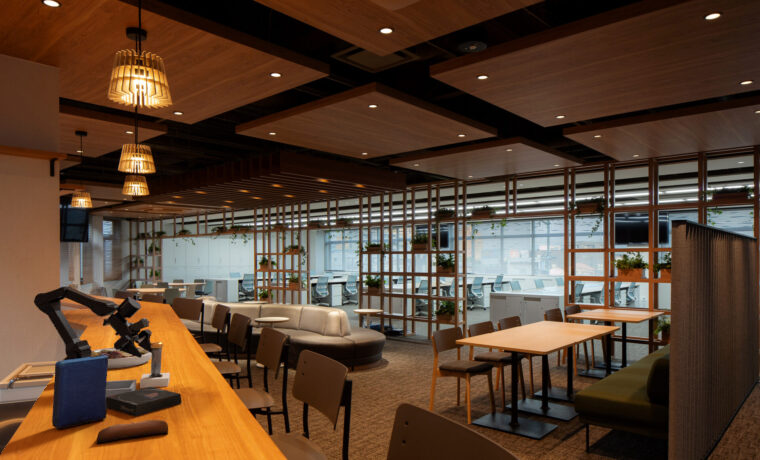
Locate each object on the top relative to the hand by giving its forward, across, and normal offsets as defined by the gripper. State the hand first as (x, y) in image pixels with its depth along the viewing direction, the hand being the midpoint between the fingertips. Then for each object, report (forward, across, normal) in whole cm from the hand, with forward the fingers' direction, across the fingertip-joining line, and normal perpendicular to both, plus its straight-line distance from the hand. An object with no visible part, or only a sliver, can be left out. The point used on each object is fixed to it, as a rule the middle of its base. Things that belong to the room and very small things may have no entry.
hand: (147, 354), depth 197 cm
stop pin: (+11, 0, +5) cm, 12 cm away
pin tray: (+6, -17, +10) cm, 21 cm away
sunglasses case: (+27, -55, -10) cm, 62 cm away
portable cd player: (+19, -28, -2) cm, 34 cm away
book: (+12, -48, +4) cm, 50 cm away
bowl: (-15, +34, +31) cm, 49 cm away
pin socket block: (+11, 0, +5) cm, 12 cm away
